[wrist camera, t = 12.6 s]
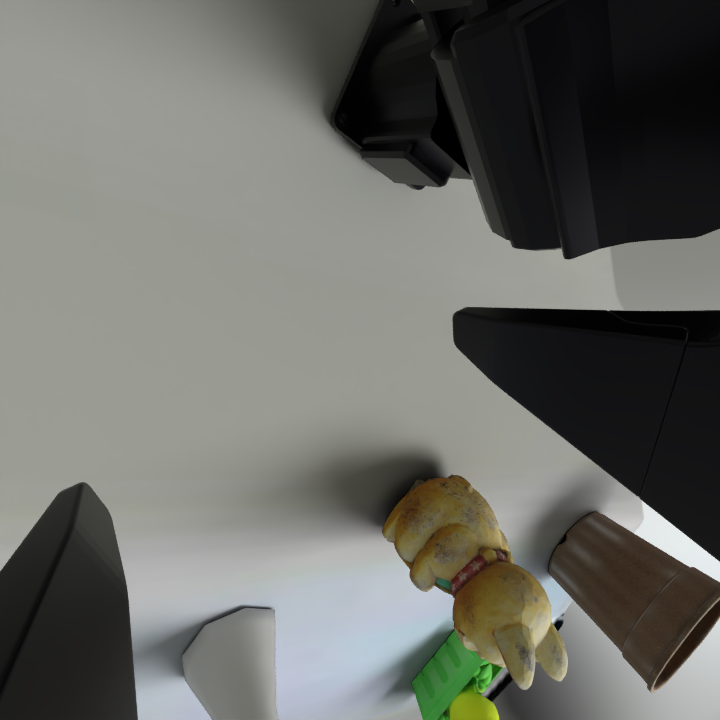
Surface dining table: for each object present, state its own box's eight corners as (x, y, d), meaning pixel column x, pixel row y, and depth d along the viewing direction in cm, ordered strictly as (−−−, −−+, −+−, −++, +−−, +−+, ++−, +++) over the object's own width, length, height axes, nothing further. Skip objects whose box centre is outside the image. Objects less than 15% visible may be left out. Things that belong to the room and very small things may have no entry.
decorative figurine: (356, 534, 34) (490, 735, 22) (403, 451, 33) (572, 617, 21) (430, 536, 40) (566, 694, 28) (472, 465, 38) (632, 601, 27)
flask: (168, 688, 30) (192, 875, 22) (194, 614, 28) (230, 788, 21) (260, 661, 34) (307, 810, 27) (287, 595, 33) (346, 734, 25)
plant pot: (538, 543, 55) (668, 659, 42) (615, 479, 60) (752, 566, 47) (535, 601, 64) (642, 711, 51) (603, 541, 69) (715, 628, 56)
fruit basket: (429, 689, 56) (490, 788, 47) (393, 691, 50) (455, 805, 42) (480, 624, 56) (551, 712, 47) (450, 619, 50) (524, 718, 42)
